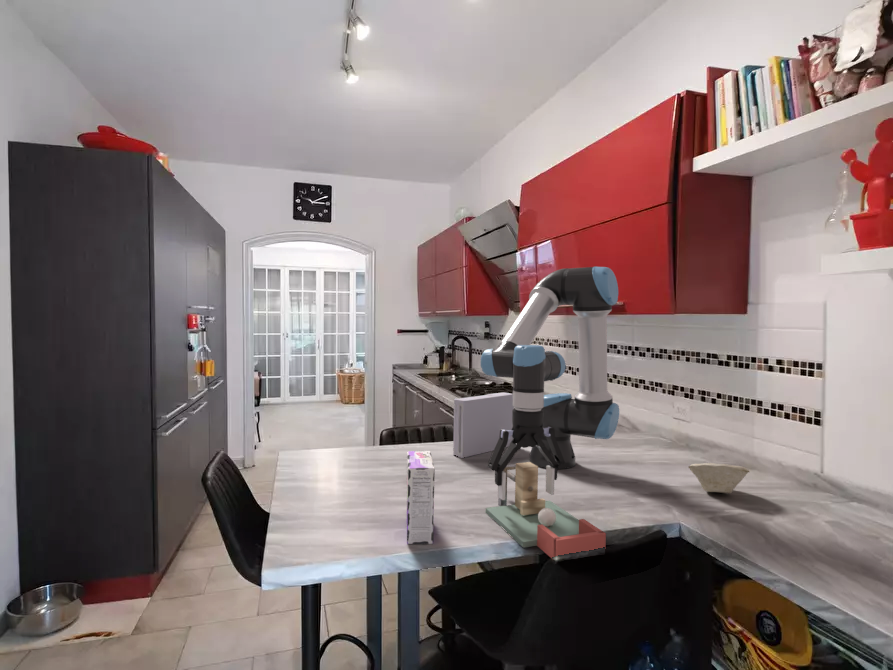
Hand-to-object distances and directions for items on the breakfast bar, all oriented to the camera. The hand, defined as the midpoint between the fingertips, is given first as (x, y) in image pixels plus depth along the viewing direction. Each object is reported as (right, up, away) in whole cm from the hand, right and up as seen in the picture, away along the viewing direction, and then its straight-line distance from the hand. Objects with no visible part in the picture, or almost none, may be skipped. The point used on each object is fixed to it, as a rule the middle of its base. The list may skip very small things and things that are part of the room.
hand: (526, 495), depth 122 cm
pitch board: (+2, -5, -5) cm, 8 cm away
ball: (+3, -2, -9) cm, 10 cm away
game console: (-6, -3, +61) cm, 61 cm away
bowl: (+57, -5, +18) cm, 60 cm away
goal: (+6, -5, -18) cm, 20 cm away
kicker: (-2, -3, +6) cm, 7 cm away
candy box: (-26, -5, -10) cm, 28 cm away
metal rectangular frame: (-2, -4, +7) cm, 8 cm away
